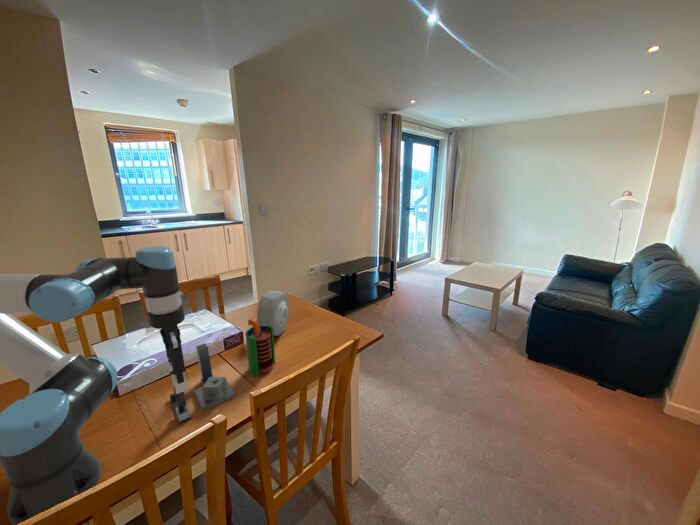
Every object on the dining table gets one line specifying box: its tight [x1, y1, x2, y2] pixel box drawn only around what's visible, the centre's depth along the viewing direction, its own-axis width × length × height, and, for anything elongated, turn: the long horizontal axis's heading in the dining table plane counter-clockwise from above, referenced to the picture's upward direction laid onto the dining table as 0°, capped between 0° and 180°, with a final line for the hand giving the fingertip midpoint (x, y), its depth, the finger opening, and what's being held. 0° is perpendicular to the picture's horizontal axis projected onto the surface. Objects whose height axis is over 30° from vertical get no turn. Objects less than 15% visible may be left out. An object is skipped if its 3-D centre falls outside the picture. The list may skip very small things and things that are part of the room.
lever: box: [172, 386, 192, 422], centre depth 87 cm, size 3×4×11 cm
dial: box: [256, 290, 290, 337], centre depth 135 cm, size 20×12×20 cm, turn 171°
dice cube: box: [201, 376, 227, 401], centre depth 95 cm, size 5×5×5 cm
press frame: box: [169, 342, 236, 425], centre depth 95 cm, size 17×16×14 cm
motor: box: [245, 317, 276, 378], centre depth 109 cm, size 10×9×20 cm
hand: (180, 387), depth 80 cm, fingers open, 3 cm apart
